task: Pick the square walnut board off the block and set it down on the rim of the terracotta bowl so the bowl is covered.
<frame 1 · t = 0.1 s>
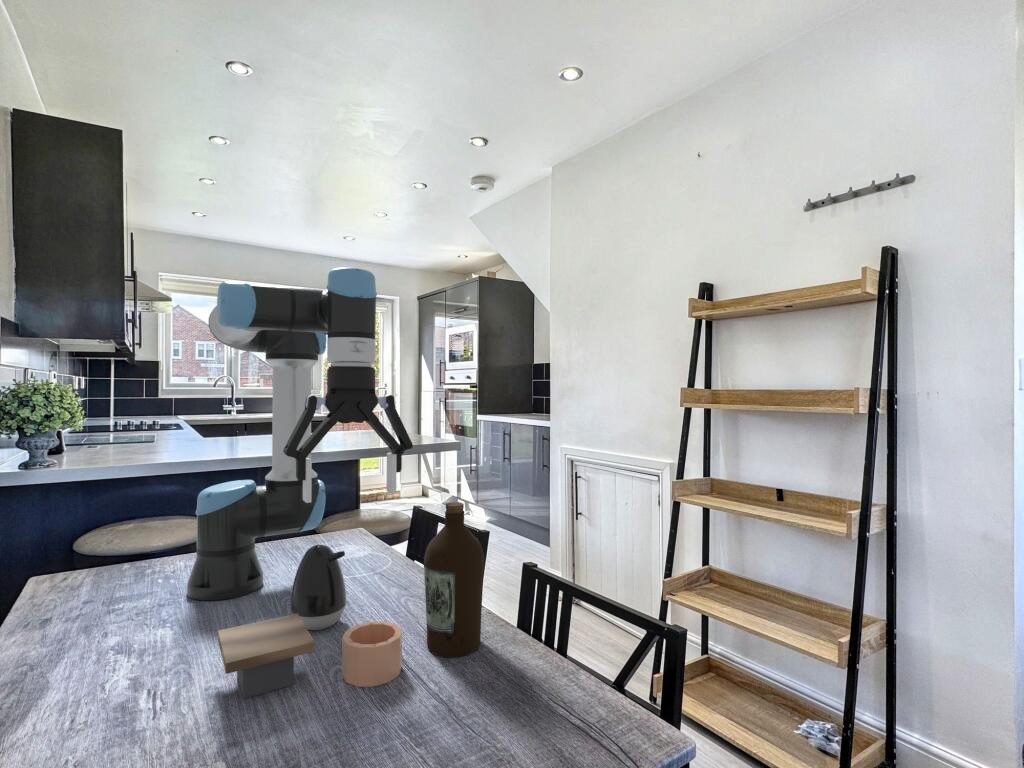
hand: (350, 496, 89), 28 cm above the table, fingers open, 13 cm apart
block: (265, 681, 85), on the table
olive oil: (453, 646, 97), on the table
lid: (265, 645, 85), point 5 cm above the table, touching block
bowl: (372, 671, 88), on the table
pump dispenser: (319, 625, 105), on the table
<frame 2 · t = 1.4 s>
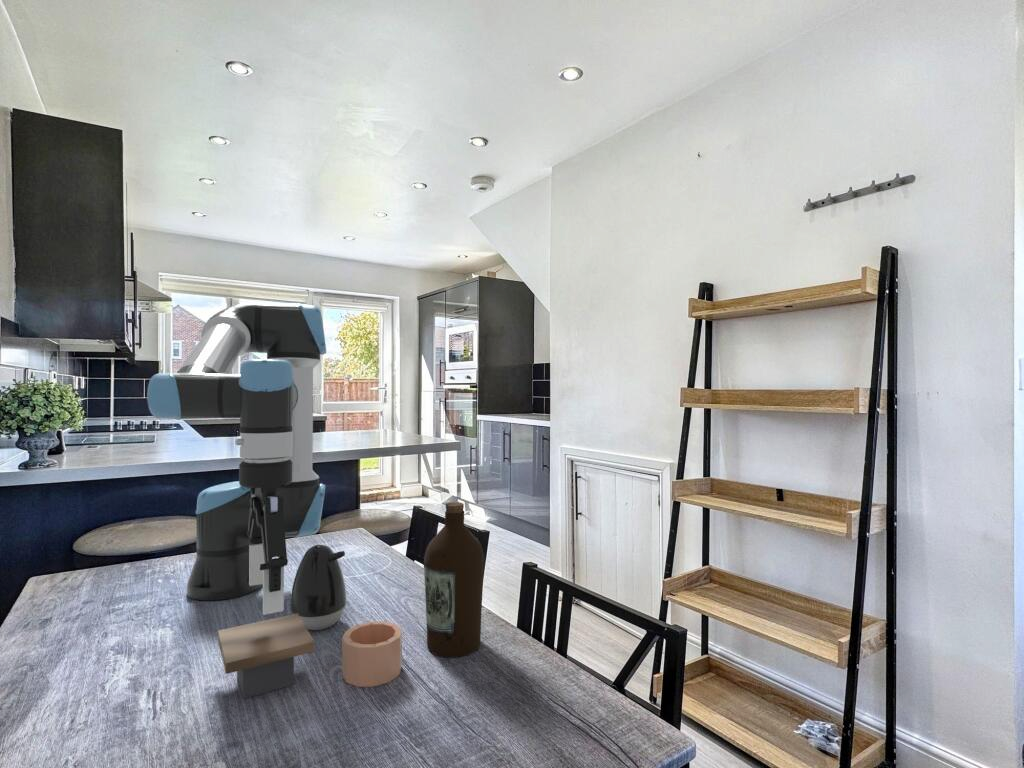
hand: (265, 597, 85), 13 cm above the table, fingers open, 13 cm apart
nothing on the table moved.
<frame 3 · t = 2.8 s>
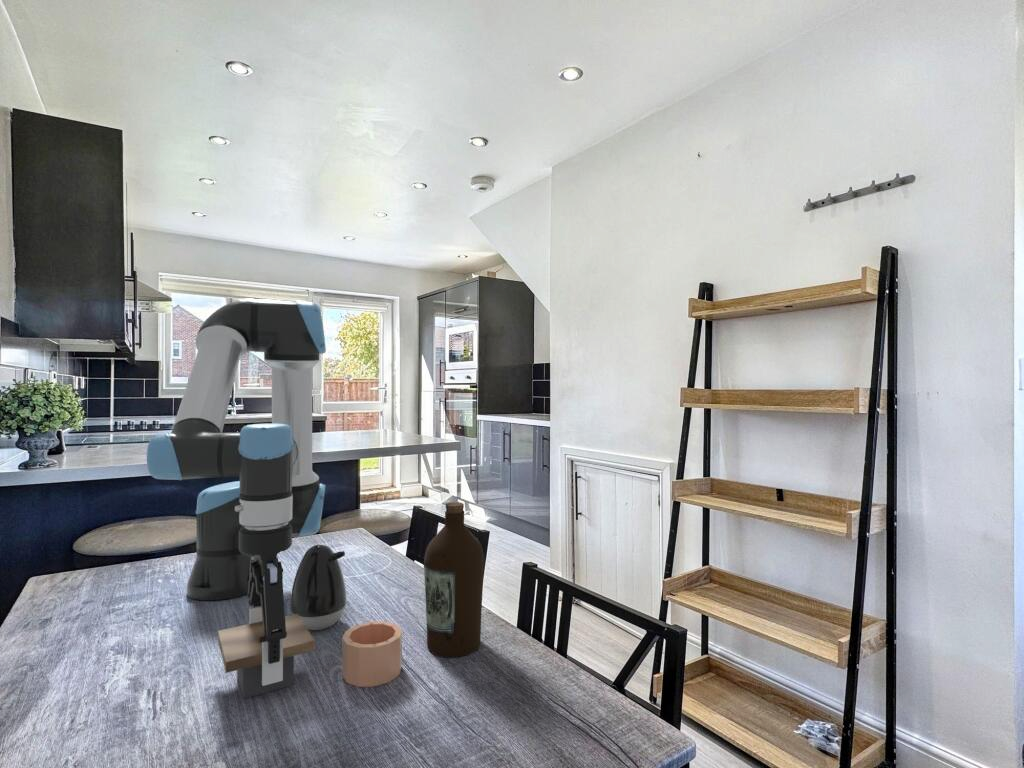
hand: (265, 663, 85), 3 cm above the table, fingers closed on lid, 12 cm apart
lid: (265, 645, 85), point 6 cm above the table, touching gripper, block
everything else where it was.
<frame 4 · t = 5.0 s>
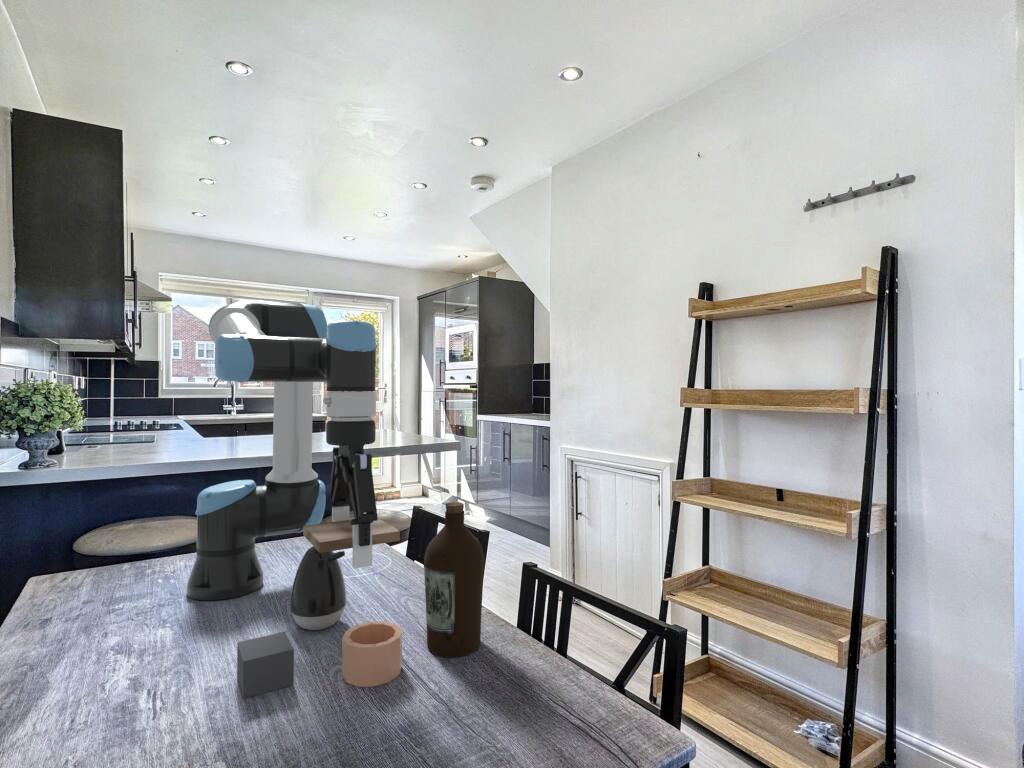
hand: (350, 555, 87), 19 cm above the table, fingers closed on lid, 12 cm apart
lid: (350, 537, 87), point 22 cm above the table, touching gripper
everything else where it was.
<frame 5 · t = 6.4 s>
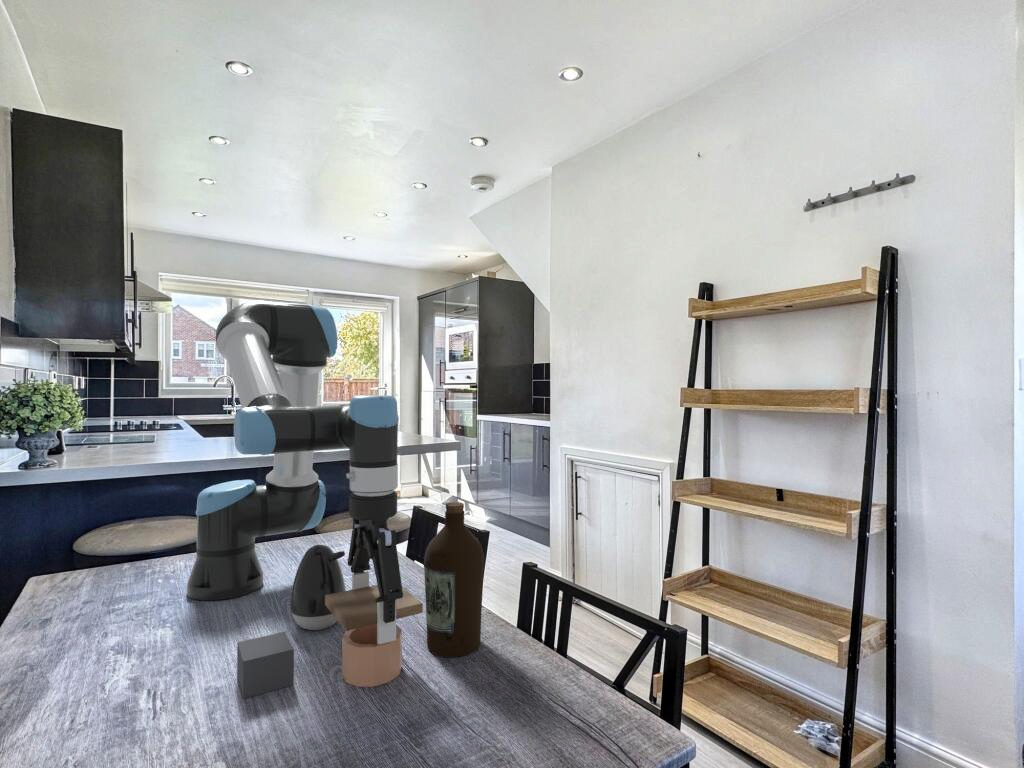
hand: (372, 625, 88), 7 cm above the table, fingers closed on lid, 12 cm apart
lid: (372, 608, 88), point 10 cm above the table, touching gripper
everything else where it was.
when the fingers open (5 cm above the table, at t = 7.5 s): lid drops 1 cm, resting on bowl.
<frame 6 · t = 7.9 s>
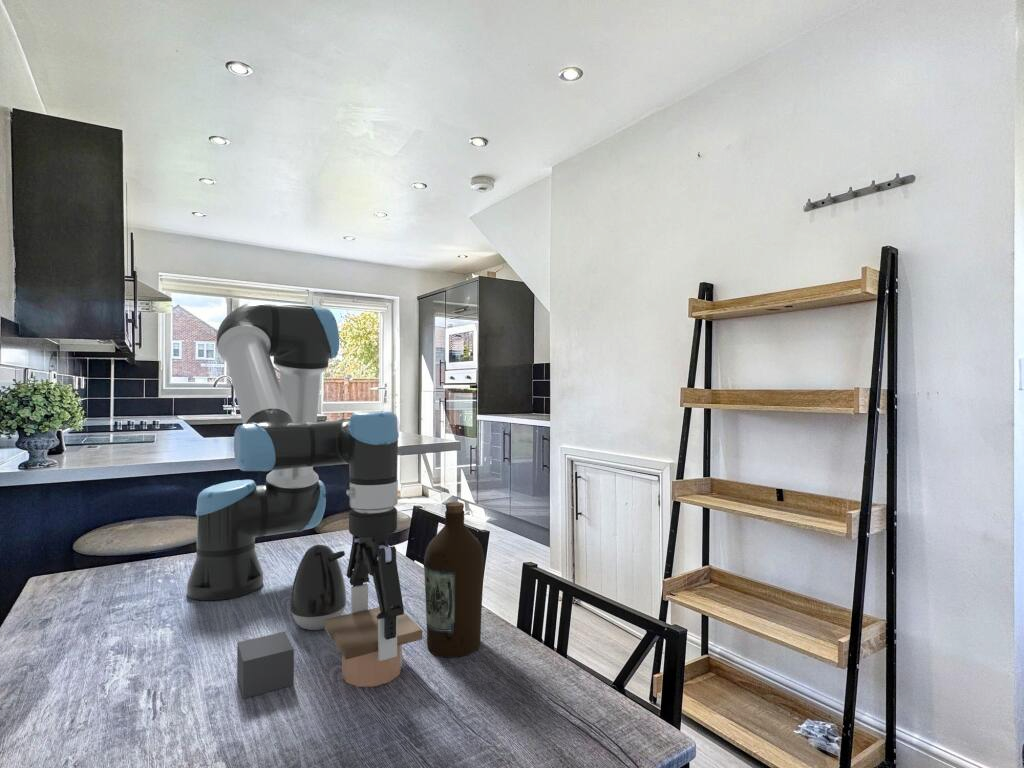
hand: (372, 639, 88), 5 cm above the table, fingers open, 13 cm apart
lid: (372, 633, 88), point 6 cm above the table, touching bowl
everything else where it was.
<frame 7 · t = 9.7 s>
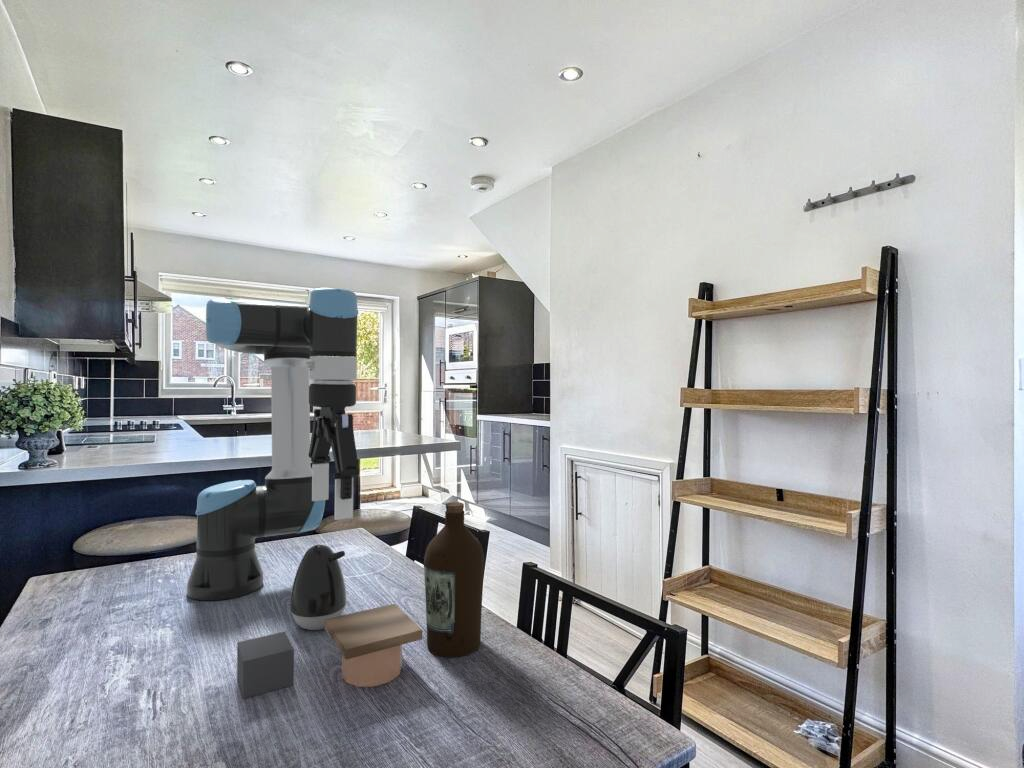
hand: (331, 508, 92), 25 cm above the table, fingers open, 13 cm apart
nothing on the table moved.
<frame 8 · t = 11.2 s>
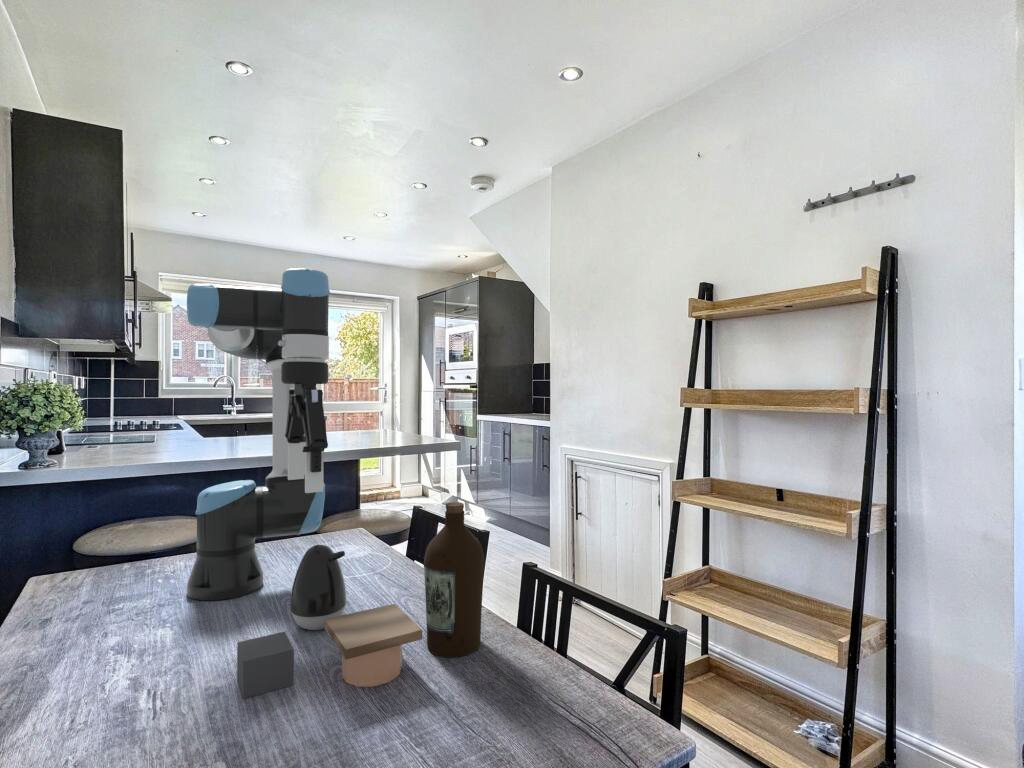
hand: (304, 485, 94), 29 cm above the table, fingers open, 13 cm apart
nothing on the table moved.
at the end: lid 0.0 cm off-centre on the bowl, point 6.0 cm above the bowl's base; lid tilted 0°; the gripper is holding nothing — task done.
